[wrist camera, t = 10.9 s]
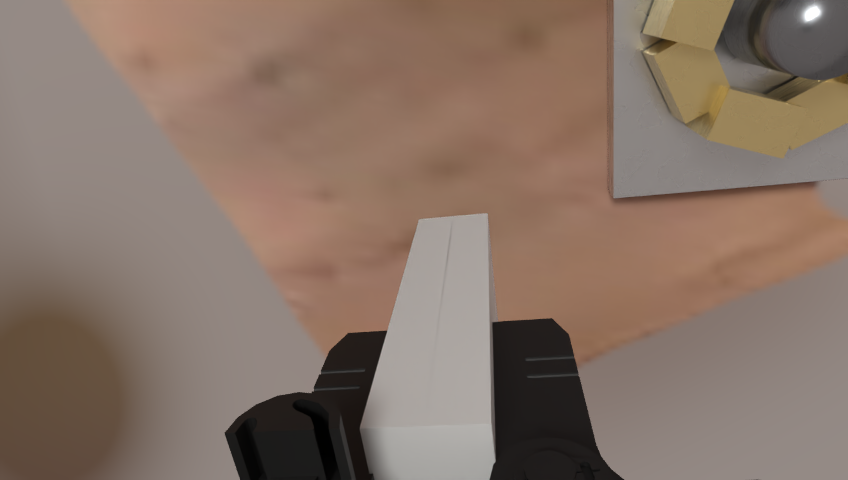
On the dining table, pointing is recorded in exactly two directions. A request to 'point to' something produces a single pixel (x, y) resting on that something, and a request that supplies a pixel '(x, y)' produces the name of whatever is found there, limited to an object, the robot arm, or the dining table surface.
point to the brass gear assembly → (726, 105)
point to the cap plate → (744, 68)
